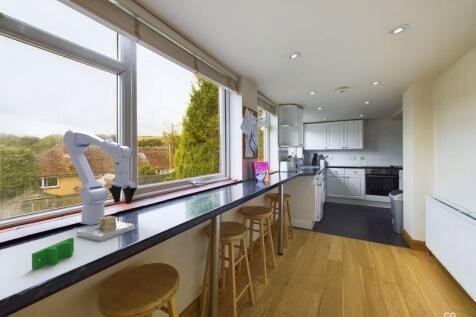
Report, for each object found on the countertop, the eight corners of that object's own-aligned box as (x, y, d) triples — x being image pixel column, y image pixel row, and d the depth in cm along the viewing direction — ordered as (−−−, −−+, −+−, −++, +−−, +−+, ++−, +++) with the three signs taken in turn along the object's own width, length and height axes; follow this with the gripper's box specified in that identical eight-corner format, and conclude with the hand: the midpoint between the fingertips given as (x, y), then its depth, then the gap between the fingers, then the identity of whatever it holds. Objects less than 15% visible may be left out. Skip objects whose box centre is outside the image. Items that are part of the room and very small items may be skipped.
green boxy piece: (44, 271, 55) (43, 254, 55) (32, 270, 55) (31, 253, 55) (81, 251, 66) (81, 237, 66) (70, 251, 66) (70, 237, 66)
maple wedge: (99, 233, 82) (99, 218, 82) (109, 230, 85) (109, 215, 85) (106, 234, 80) (105, 219, 80) (115, 231, 84) (115, 216, 84)
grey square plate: (77, 236, 79) (76, 231, 79) (112, 225, 92) (112, 220, 92) (100, 241, 73) (100, 236, 73) (134, 229, 86) (134, 224, 86)
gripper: (141, 172, 94) (141, 202, 94) (119, 172, 100) (120, 200, 100) (127, 173, 87) (127, 205, 87) (105, 173, 93) (105, 203, 93)
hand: (122, 203), depth 93 cm, fingers open, 7 cm apart
